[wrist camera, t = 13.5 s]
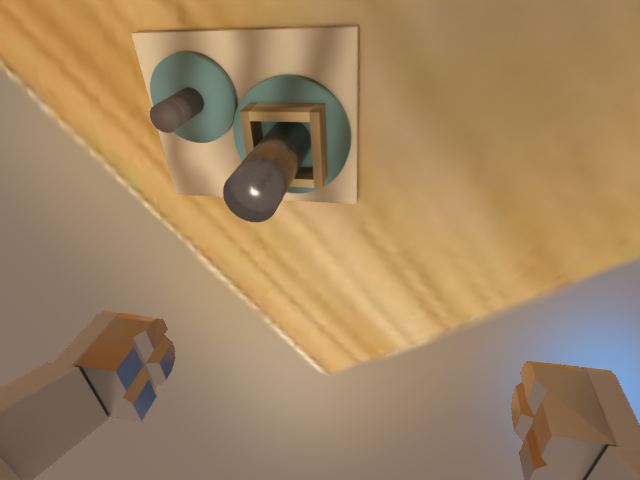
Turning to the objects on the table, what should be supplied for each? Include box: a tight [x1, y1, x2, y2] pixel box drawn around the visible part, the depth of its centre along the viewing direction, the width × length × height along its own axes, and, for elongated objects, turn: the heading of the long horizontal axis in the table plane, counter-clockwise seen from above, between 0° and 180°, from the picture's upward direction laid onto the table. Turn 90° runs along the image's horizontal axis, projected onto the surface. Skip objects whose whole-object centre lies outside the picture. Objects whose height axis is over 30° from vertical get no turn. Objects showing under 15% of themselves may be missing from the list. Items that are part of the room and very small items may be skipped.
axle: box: [223, 122, 311, 222], centre depth 33 cm, size 4×4×11 cm
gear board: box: [131, 25, 359, 204], centre depth 37 cm, size 20×16×7 cm
